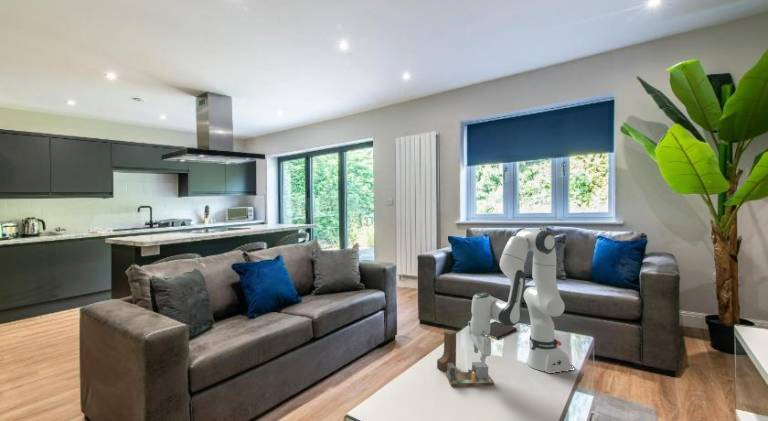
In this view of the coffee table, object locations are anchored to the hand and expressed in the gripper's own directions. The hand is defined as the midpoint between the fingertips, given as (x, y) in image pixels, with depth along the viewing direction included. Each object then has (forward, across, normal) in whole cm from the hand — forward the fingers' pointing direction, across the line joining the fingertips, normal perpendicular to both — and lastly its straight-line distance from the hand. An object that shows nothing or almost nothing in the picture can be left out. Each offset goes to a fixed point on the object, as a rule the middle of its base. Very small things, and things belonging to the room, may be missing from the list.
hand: (479, 356), depth 167 cm
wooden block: (+12, +13, +12) cm, 21 cm away
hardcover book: (+11, +59, -32) cm, 68 cm away
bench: (+12, 0, +4) cm, 12 cm away
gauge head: (+10, -1, 0) cm, 10 cm away
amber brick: (+10, -4, +4) cm, 11 cm away
